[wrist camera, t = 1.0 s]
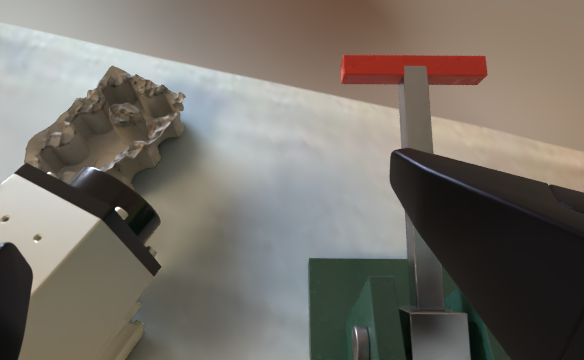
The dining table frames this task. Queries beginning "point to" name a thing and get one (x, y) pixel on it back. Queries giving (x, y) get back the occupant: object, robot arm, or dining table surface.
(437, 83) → the lever
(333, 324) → the bracket
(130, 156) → the brown rock
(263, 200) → the dining table surface
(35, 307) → the pneumatic valve
